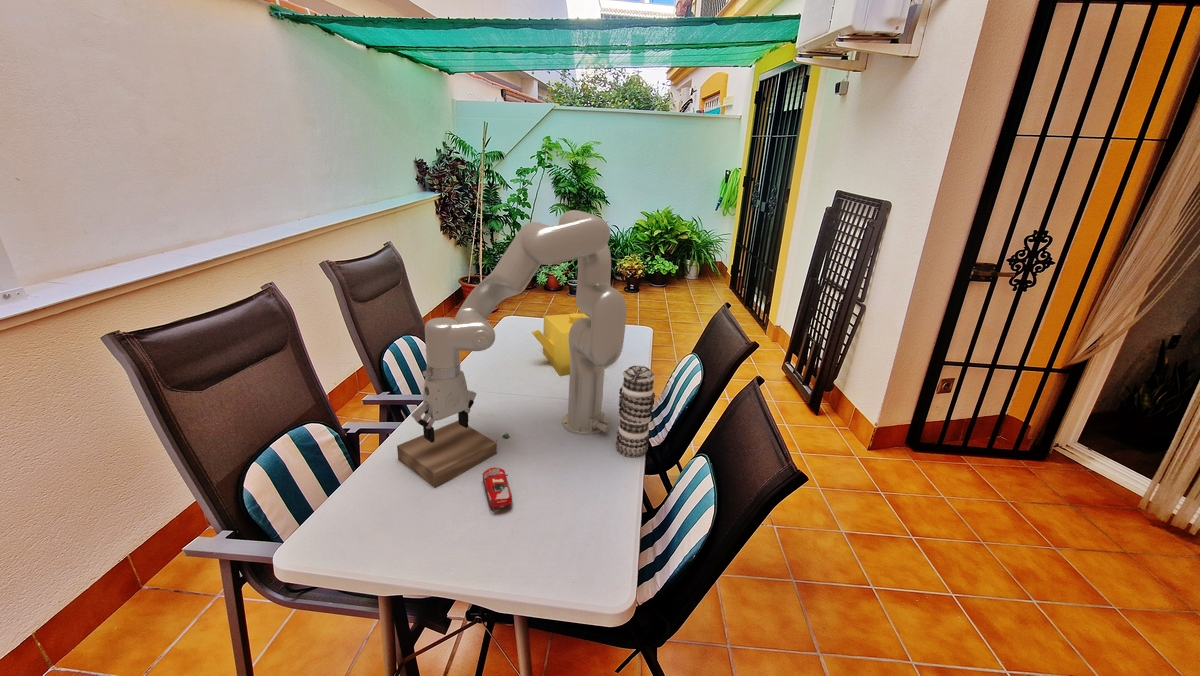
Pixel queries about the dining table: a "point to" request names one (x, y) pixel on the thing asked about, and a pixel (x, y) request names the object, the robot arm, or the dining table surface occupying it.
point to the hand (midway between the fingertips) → (447, 432)
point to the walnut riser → (446, 453)
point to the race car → (497, 488)
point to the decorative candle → (635, 411)
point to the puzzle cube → (505, 436)
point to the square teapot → (558, 340)
